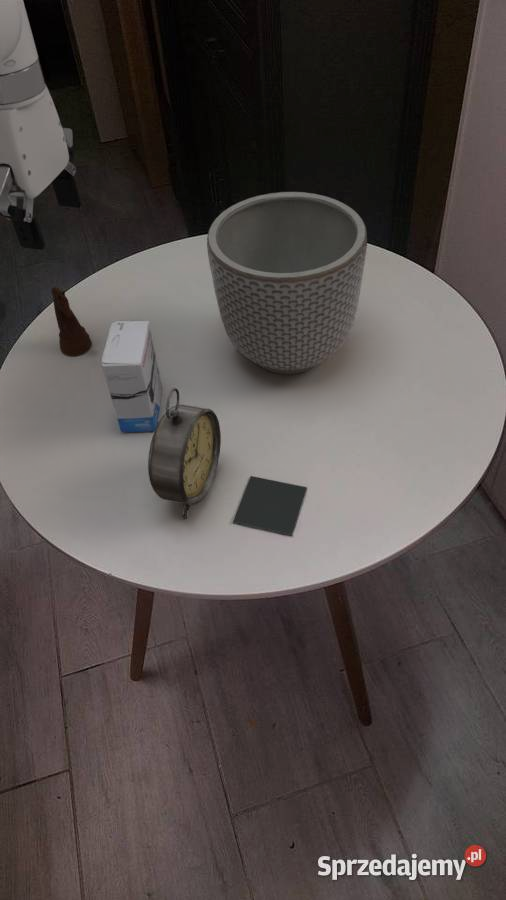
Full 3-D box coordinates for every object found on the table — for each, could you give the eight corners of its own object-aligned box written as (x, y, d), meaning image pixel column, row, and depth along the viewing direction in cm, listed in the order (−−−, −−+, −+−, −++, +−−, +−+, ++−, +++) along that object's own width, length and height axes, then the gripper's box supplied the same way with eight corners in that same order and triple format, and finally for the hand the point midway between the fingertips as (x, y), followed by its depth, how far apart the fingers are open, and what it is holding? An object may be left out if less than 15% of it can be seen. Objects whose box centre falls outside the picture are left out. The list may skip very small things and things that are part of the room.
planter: (382, 375, 93) (397, 253, 79) (247, 416, 90) (236, 296, 75) (324, 295, 106) (327, 177, 91) (202, 328, 102) (186, 211, 88)
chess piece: (69, 361, 99) (50, 304, 91) (54, 343, 102) (34, 287, 94) (97, 347, 100) (80, 290, 93) (81, 330, 103) (63, 274, 96)
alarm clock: (194, 530, 78) (173, 434, 66) (151, 519, 79) (123, 423, 67) (227, 460, 85) (214, 361, 72) (187, 451, 86) (167, 352, 74)
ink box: (157, 432, 88) (141, 364, 80) (119, 433, 89) (99, 365, 80) (163, 387, 94) (149, 318, 85) (128, 388, 94) (110, 319, 85)
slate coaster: (232, 523, 78) (232, 521, 78) (250, 477, 83) (250, 475, 82) (291, 536, 77) (291, 534, 77) (307, 488, 81) (307, 487, 81)
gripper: (18, 49, 79) (58, 188, 92) (-69, 113, 68) (-10, 261, 81) (76, 52, 77) (109, 194, 90) (-5, 119, 67) (46, 269, 80)
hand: (52, 225), depth 86 cm, fingers open, 9 cm apart
